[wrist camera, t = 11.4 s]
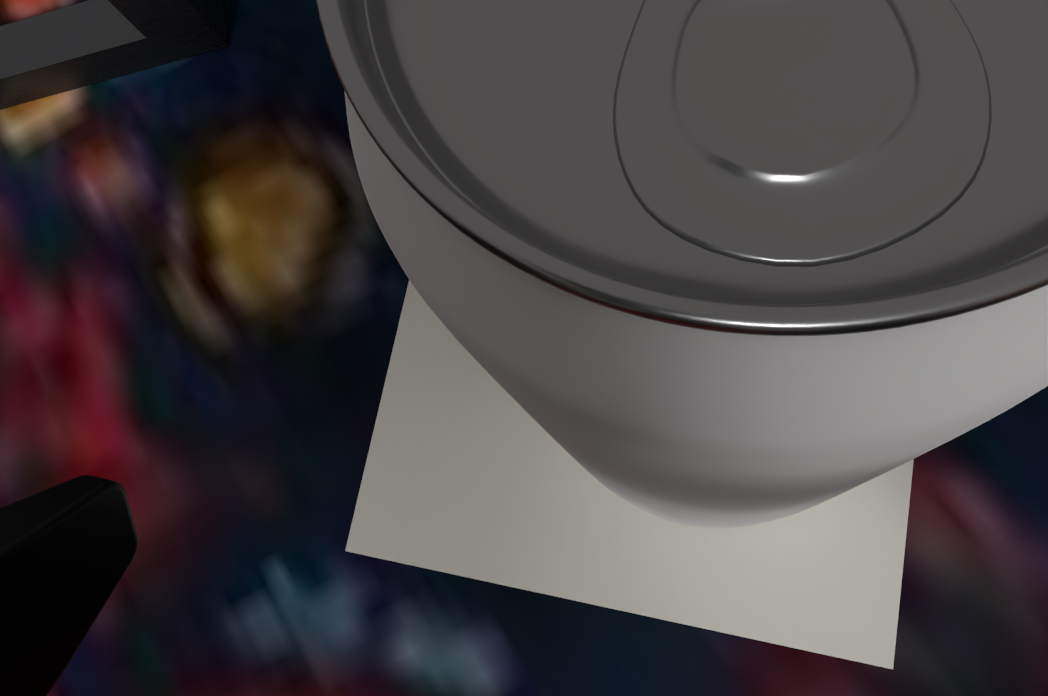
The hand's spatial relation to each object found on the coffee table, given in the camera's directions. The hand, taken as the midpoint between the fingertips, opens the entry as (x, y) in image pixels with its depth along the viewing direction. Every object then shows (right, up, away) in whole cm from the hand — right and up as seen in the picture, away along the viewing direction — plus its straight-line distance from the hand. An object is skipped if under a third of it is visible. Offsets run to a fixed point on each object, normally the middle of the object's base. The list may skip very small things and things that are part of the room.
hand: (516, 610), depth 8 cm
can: (+4, +2, +8) cm, 9 cm away
